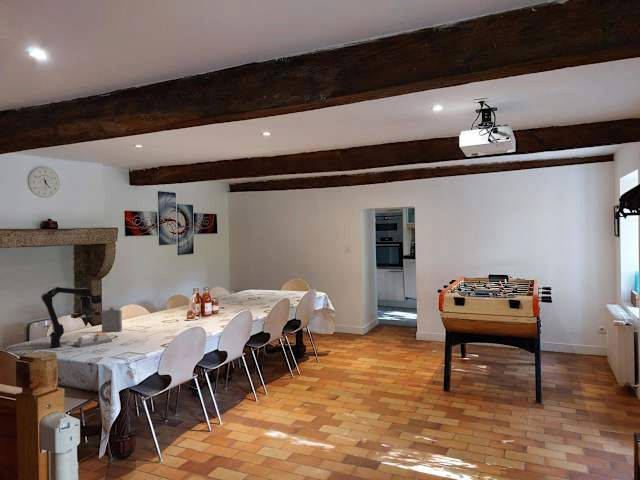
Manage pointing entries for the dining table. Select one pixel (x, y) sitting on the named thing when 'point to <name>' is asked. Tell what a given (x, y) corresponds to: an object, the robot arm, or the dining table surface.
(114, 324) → the hip flask
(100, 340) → the key panel
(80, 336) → the key ivory
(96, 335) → the key terracotta
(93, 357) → the dining table surface
